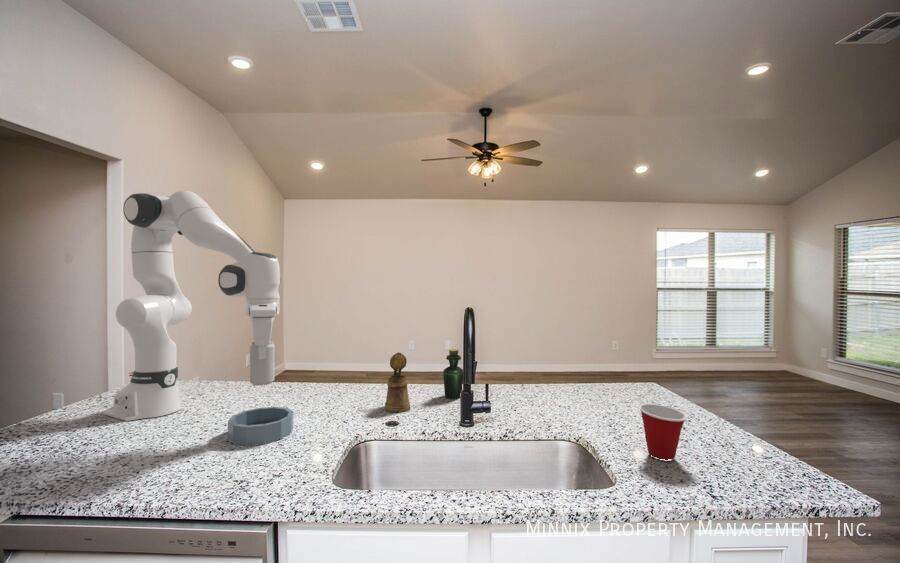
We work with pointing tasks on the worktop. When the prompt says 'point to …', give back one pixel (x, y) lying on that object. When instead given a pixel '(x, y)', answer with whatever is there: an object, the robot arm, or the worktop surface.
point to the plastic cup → (662, 429)
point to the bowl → (260, 425)
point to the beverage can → (262, 365)
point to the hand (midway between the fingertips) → (262, 356)
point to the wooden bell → (397, 386)
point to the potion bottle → (453, 376)
